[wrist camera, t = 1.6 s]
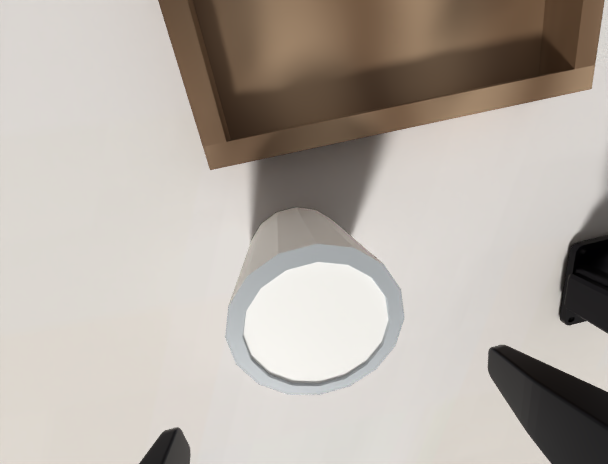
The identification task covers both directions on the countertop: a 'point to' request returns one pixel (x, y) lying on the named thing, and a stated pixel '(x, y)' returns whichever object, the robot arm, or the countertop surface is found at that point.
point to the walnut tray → (367, 65)
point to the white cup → (311, 306)
